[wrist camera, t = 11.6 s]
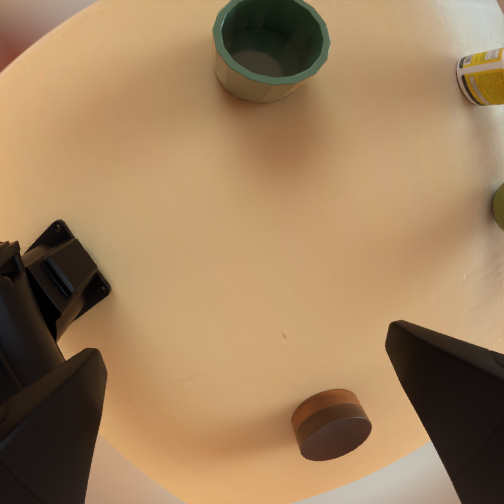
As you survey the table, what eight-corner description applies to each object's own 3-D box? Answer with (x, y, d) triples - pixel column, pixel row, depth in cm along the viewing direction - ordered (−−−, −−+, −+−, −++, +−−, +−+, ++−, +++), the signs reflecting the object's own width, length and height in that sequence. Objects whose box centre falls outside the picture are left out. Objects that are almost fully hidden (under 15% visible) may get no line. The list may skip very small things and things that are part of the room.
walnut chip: (313, 454, 25) (317, 468, 23) (282, 428, 23) (287, 444, 21) (371, 422, 25) (379, 435, 23) (351, 390, 23) (360, 406, 21)
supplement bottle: (487, 112, 18) (554, 113, 10) (456, 96, 18) (530, 89, 10) (483, 68, 17) (547, 60, 9) (452, 49, 16) (520, 32, 8)
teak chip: (308, 441, 27) (313, 454, 25) (279, 413, 25) (283, 428, 23) (365, 410, 27) (372, 423, 25) (344, 377, 25) (352, 391, 23)
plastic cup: (244, 119, 17) (255, 105, 12) (196, 50, 15) (191, 17, 11) (319, 79, 17) (350, 58, 12) (272, 14, 15) (289, -22, 10)
